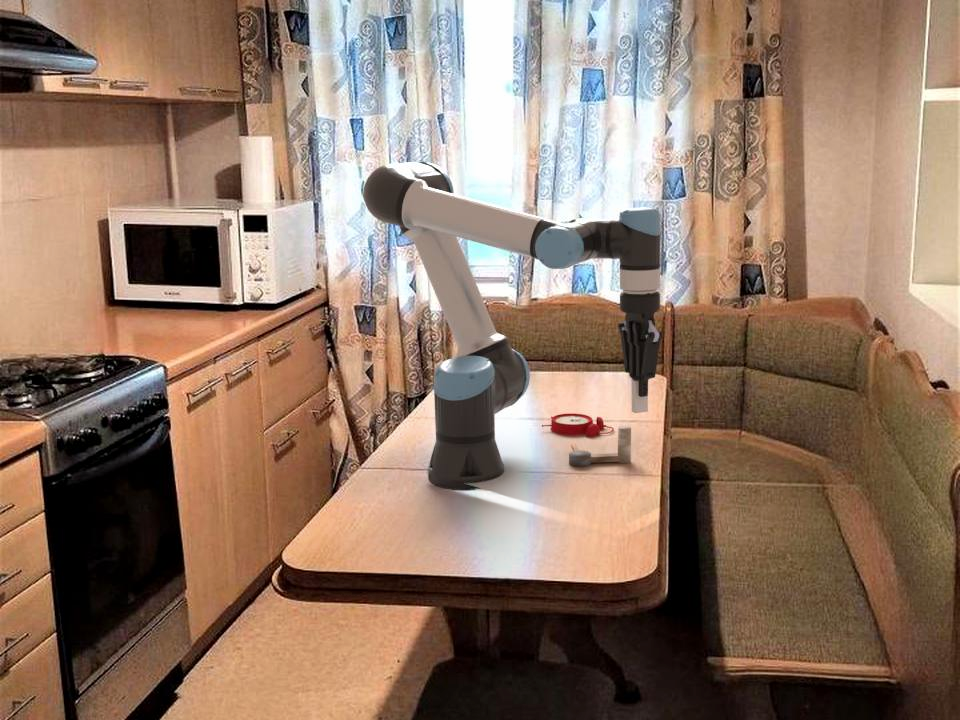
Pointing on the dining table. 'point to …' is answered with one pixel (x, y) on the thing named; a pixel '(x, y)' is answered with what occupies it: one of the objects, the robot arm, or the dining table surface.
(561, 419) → the alarm clock
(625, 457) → the peg lever
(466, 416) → the robot arm
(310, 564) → the dining table surface
